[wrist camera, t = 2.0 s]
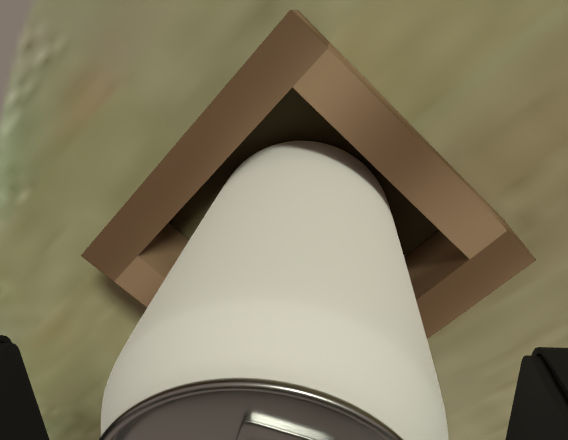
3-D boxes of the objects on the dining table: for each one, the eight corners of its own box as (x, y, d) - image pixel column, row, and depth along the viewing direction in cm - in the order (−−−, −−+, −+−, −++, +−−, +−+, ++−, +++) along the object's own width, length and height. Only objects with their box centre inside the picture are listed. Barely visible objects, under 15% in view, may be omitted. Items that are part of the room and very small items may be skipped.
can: (202, 265, 20) (37, 585, 9) (243, 112, 17) (83, 296, 6) (354, 313, 20) (377, 684, 9) (418, 169, 17) (560, 444, 6)
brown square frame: (505, 221, 18) (536, 259, 15) (307, 375, 21) (303, 428, 19) (297, 9, 16) (290, 10, 13) (117, 220, 19) (80, 255, 17)
